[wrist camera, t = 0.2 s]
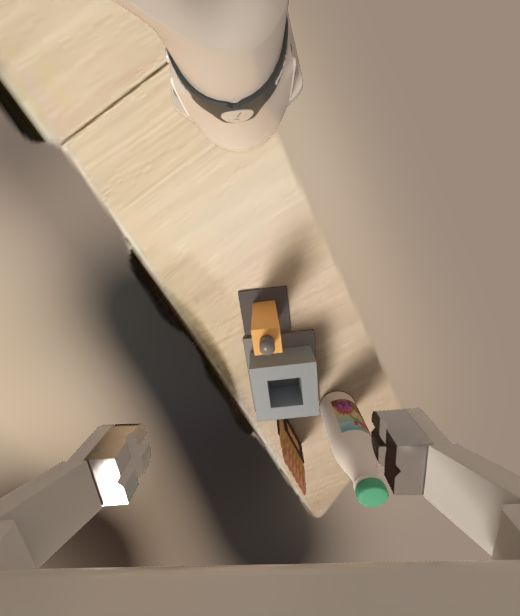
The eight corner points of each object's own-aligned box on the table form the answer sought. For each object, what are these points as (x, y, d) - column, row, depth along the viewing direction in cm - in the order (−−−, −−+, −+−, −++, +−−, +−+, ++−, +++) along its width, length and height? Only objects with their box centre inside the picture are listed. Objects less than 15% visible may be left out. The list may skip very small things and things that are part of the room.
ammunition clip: (276, 414, 58) (280, 463, 47) (283, 411, 58) (289, 460, 46) (293, 446, 61) (301, 499, 50) (301, 444, 61) (310, 496, 50)
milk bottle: (337, 423, 59) (373, 521, 40) (311, 407, 57) (337, 502, 38) (360, 401, 57) (411, 494, 38) (334, 384, 55) (373, 472, 36)
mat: (238, 291, 48) (238, 292, 47) (286, 285, 47) (286, 286, 47) (245, 334, 51) (245, 335, 50) (290, 329, 50) (290, 330, 50)
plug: (252, 302, 48) (250, 336, 35) (274, 300, 48) (280, 333, 35) (255, 323, 50) (254, 362, 36) (277, 320, 49) (283, 359, 36)
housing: (243, 337, 51) (240, 355, 45) (313, 329, 50) (321, 346, 44) (255, 409, 57) (254, 433, 51) (317, 402, 57) (325, 426, 50)
